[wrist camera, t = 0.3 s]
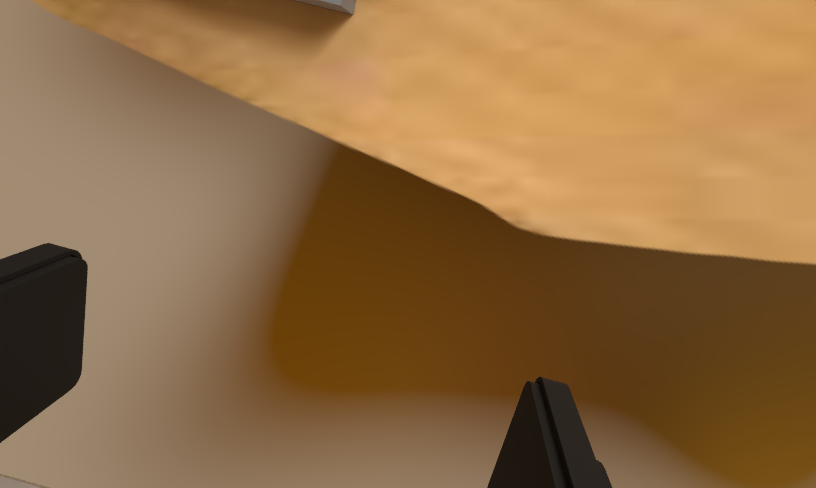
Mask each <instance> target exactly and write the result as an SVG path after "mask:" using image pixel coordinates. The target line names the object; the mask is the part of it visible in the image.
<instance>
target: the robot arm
mask: <svg viewBox="0 0 816 488" xmlns="http://www.w3.org/2000/svg"><path fill="white" fill-rule="evenodd" d="M87 270H88V269H87V263H86V261H84V260H83V259H82V257H81V254H80V253H79V252H78V251H76V250H72V249H68V248H65V247H61V246H57V245H54V244H50V243H47V244H42V245H40V246H37V247H34V248H31V249H28V250H26V251H23V252H20V253H17V254H14V255H11V256H9V257H6V258H3V259H0V443H1V442H2V441H3V440H5V439H6V438H7V437H9V436H10V435H11V434H13V433H14V432H15V431H17V430H18V429H19V428H21V427H22V426H23V425H24V424H26V423H27V422H28V421H30V420H31V419H33V418H34V417H35V416H37V415H38V414H39V413H40V412H42V411H43V410H45V409H46V408H47V407H48V406H50V405H51V404H52V403H54V402H55V401H56V400H58V399H59V398H60V397H62V396H63V395H64V394H66V393H67V392H68V391H70V390H71V389H72V388H73V387H74V386H75V385H76V383H77V382H78V380H79V378H80V375H81V371H82V355H83V338H84V337H83V336H84V320H85V304H86V286H87ZM0 488H48V487H45V486H41V485H38V484H34V483H30V482H27V481H24V480H20V479H17V478H13V477H10V476H6V475H2V474H0ZM488 488H612V486H611V484H610V481H609V478H608V476H607V473H606V470H605V468H604V466H603V465H602V463H601V462H599V461H597V460H596V459H595V456H594V453H593V451H592V448H591V445H590V442H589V440H588V437H587V435H586V432H585V429H584V427H583V424H582V421H581V418H580V416H579V413H578V410H577V408H576V405H575V402H574V400H573V397H572V394H571V391H570V389H569V386H568V385H567V384H565V383H561V382H557V381H554V380H550V379H546V378H543V377H538V378H537V379H536V381H535V383H534V382H530V381H527V382H526V384H525V386H524V388H523V391H522V394H521V396H520V399H519V402H518V405H517V407H516V410H515V413H514V416H513V418H512V421H511V424H510V427H509V429H508V432H507V435H506V438H505V440H504V443H503V446H502V448H501V451H500V454H499V457H498V459H497V462H496V465H495V468H494V471H493V473H492V476H491V479H490V481H489V484H488Z"/></svg>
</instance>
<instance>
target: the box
mask: <svg viewBox="0 0 816 488" xmlns="http://www.w3.org/2000/svg"><path fill="white" fill-rule="evenodd" d="M295 1H299V2H303V3H307V4H311V5H315V6H319V7H323V8H328V9H332V10H336V11H340V12H344V13H348V14H352V15H353V14H354V8H355V3H356V0H295Z"/></svg>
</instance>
